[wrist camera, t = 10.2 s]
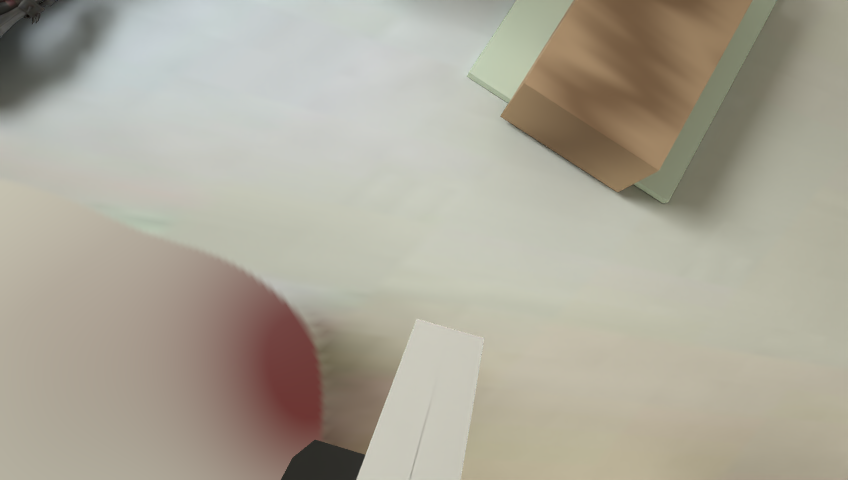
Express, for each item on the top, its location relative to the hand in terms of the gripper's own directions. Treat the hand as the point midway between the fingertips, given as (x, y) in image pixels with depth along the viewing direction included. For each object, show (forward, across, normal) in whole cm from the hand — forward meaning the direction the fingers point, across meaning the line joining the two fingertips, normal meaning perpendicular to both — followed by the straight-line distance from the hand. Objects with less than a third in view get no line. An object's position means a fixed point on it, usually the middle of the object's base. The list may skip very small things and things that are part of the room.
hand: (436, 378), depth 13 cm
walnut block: (+17, +3, +2) cm, 18 cm away
